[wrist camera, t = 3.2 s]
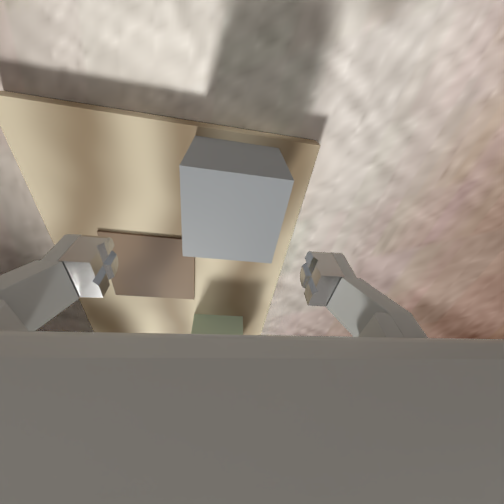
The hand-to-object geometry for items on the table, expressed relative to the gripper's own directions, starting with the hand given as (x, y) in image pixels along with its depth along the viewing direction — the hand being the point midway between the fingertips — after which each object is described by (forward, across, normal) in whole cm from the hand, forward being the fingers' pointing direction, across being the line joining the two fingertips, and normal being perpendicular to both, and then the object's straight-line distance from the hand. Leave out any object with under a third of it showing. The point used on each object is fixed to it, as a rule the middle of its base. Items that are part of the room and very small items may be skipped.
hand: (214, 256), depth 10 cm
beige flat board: (+8, +3, +8) cm, 12 cm away
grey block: (+7, -1, 0) cm, 7 cm away
